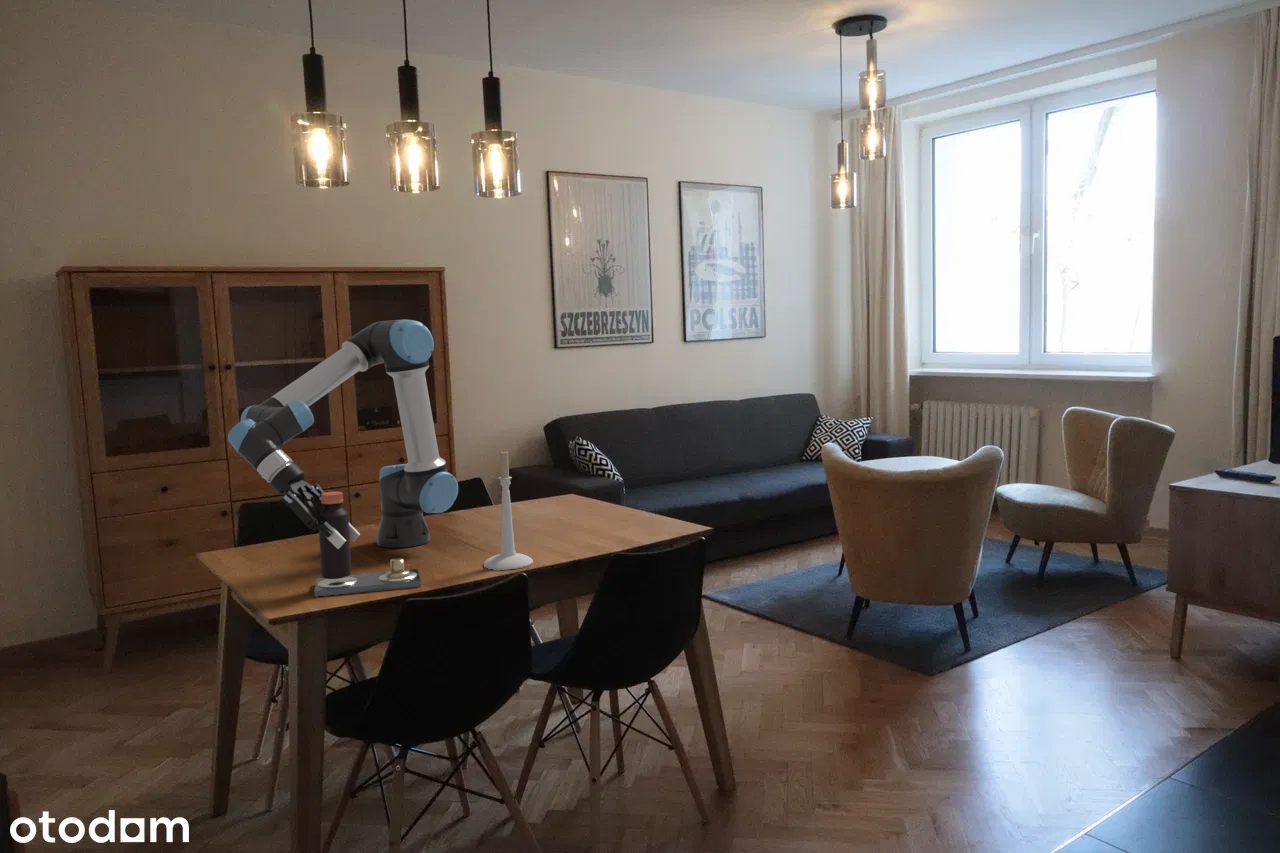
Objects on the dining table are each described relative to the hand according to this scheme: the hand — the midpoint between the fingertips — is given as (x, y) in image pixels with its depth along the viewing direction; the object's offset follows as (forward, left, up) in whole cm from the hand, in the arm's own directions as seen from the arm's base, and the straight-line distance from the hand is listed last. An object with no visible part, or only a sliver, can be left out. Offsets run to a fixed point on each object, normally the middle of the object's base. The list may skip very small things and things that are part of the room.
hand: (349, 541), depth 220 cm
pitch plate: (-4, 0, -12) cm, 12 cm away
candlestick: (-40, +3, -12) cm, 42 cm away
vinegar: (+3, -3, -9) cm, 9 cm away
